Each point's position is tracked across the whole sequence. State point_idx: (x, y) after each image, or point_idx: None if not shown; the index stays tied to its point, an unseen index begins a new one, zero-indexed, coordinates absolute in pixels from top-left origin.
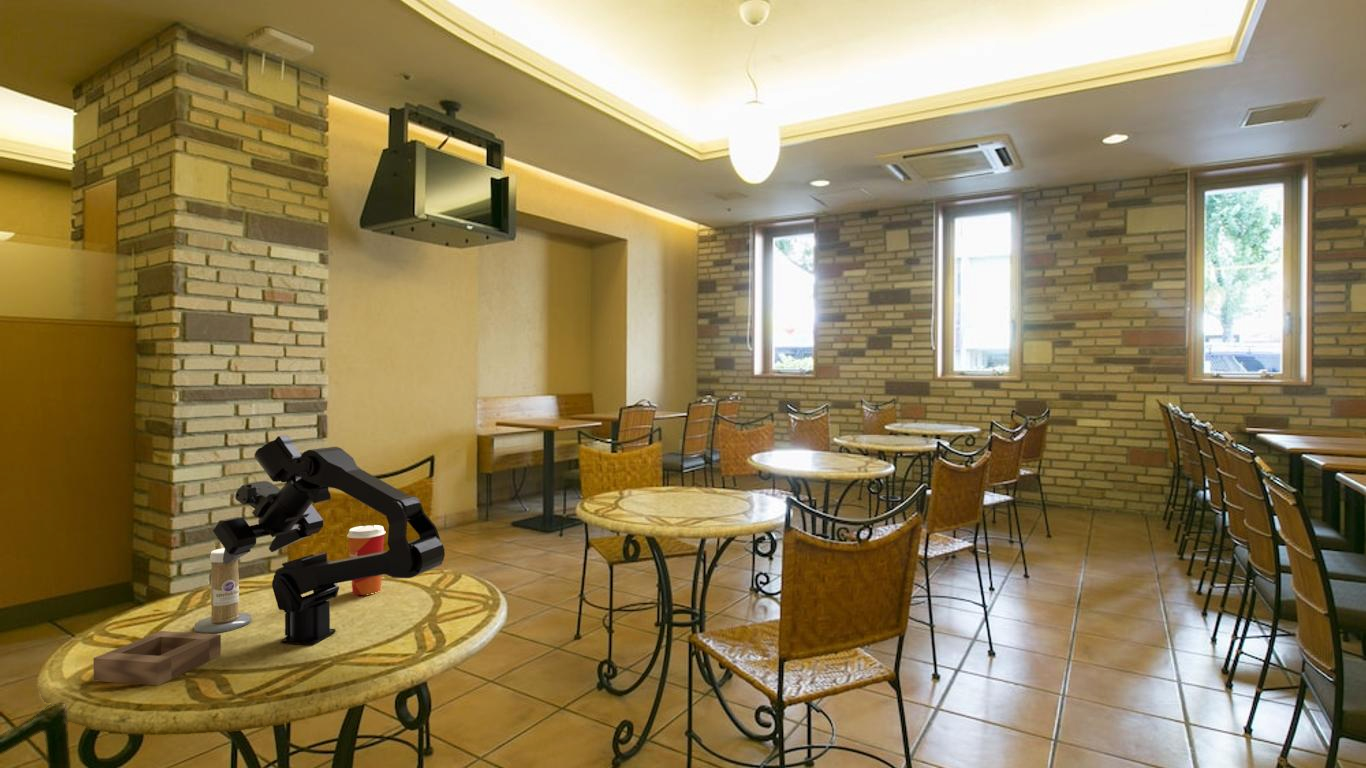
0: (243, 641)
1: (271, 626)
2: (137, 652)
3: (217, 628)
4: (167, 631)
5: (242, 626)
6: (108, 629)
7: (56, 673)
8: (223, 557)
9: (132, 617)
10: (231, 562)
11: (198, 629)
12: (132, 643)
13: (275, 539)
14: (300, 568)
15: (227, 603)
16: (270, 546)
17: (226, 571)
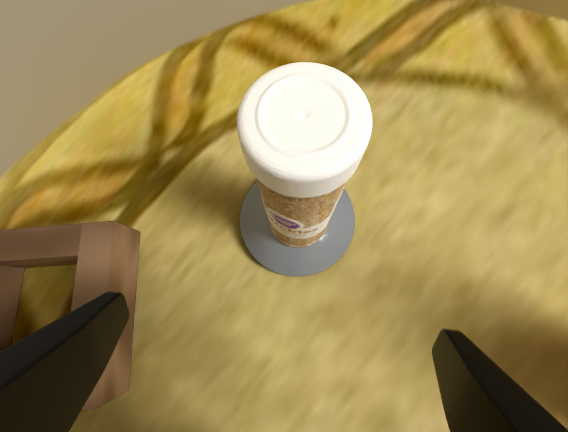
0: (214, 366)
1: (316, 349)
2: (32, 261)
3: (249, 250)
4: (111, 238)
5: (295, 276)
6: (228, 38)
7: (38, 148)
8: (81, 308)
9: (289, 19)
10: (288, 196)
11: (241, 208)
12: (35, 232)
13: (503, 429)
14: None
15: (281, 232)
16: (450, 350)
17: (273, 200)
